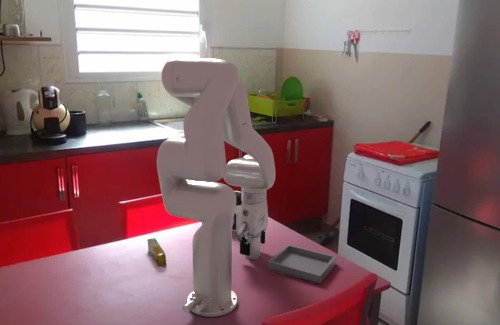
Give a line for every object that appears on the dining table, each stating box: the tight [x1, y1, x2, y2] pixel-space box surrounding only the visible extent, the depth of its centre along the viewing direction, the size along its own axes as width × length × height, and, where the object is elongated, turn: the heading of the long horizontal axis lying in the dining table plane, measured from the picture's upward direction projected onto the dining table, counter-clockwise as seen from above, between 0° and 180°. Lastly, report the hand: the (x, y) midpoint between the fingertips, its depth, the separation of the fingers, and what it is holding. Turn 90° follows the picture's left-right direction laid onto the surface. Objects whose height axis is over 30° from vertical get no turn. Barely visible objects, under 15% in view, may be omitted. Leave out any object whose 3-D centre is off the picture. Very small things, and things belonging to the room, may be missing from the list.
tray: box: [267, 244, 338, 285], centre depth 132 cm, size 14×16×2 cm
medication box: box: [147, 237, 167, 267], centre depth 136 cm, size 12×3×4 cm, turn 26°
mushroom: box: [244, 231, 261, 260], centre depth 138 cm, size 5×5×8 cm
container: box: [232, 190, 242, 233], centre depth 158 cm, size 8×8×13 cm
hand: (252, 248), depth 138 cm, fingers open, 9 cm apart
